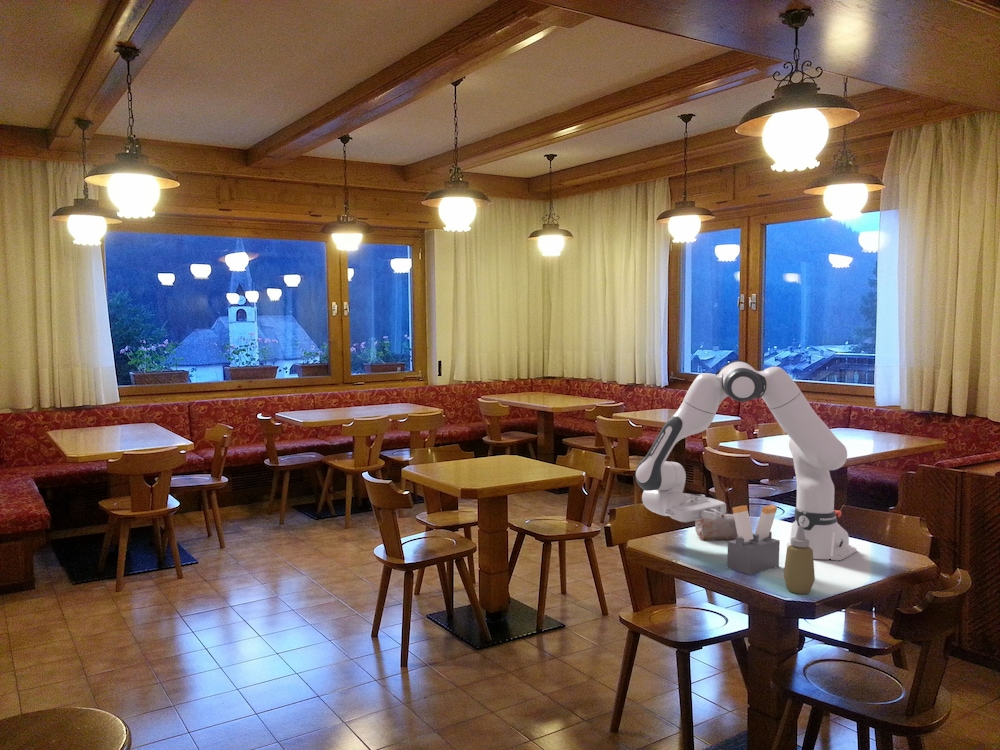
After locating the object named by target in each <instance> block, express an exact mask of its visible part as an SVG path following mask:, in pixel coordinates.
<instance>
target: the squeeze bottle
mask: <svg viewBox="0 0 1000 750" xmlns="http://www.w3.org/2000/svg"><path fill="white" fill-rule="evenodd" d="M786 547H787V546H786ZM814 561H815V559H813V550H812V549H811V548H810V547H809V540H808V539H806V538H805V534H804V529H803V526H798V529H797V533H796V537H793V538H791V545H790V546H788V547H787V548H786V554H785V562H784V566H783V567H784V568H783V574H782V576H783V580H784V583H785V586H786V589H787V591H788V592H791V593H794V594H799V595H804V594H809V593H810V592H811V591H812V588H813V585H814V583H815V581H816V575H815V563H814Z"/></svg>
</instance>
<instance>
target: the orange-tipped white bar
mask: <svg viewBox="0 0 1000 750" xmlns="http://www.w3.org/2000/svg"><path fill="white" fill-rule="evenodd" d="M777 510H778V507H777V506H775V505H774V504H769V505H764V506H762V508H761V513H760V515H759V519H758V523H757V525H756V529H755V533H754V534H756V535H758V539H762V538H766V537H769V533H770V532H771V530H772V526H773V523H774V520H775V515H776V513H777Z"/></svg>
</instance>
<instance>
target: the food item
mask: <svg viewBox="0 0 1000 750" xmlns="http://www.w3.org/2000/svg"><path fill="white" fill-rule="evenodd" d="M694 522H695V524H694V525H695V526H694V527H695V530H694V531H695V533H696V535H697V536H698V538H699V539H700V540H701V541H727V542H728V541H732V540H736V537H738V535H737V530H736V525H735V520H734V515H733V513H725V514H723V515H722V517H721V518H717V519H712V518H704V519H699V520H695V521H694Z"/></svg>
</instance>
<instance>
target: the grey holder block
mask: <svg viewBox="0 0 1000 750" xmlns="http://www.w3.org/2000/svg"><path fill="white" fill-rule="evenodd" d="M753 538H754V539H751V540H747V541H744V538H740V537H736V540H732V541H731V540H730V541H728V540H727V559H726V560H727V561H726V563H727V565H726V567H728V568H727V569H729V568H731V569H730V570H733V569H735V570H734V571H736V570H737V572H739V571H741V572H740V573H742V572H743V573H742V574H745V573H746V574H745V575H748V574H749V575H748V576H751V575H755V574H759V573H760V572H761V571H762V572H765V571H768V569H769V570H771V569H775V567H776V568H778V567H779V566H780V543H781V542H780V540H779V539H775V538H772V531H770V533H769V537H766V538H762V539H758V535H756V534H755V533H753ZM754 573H755V574H754ZM750 574H751V575H750Z"/></svg>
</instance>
